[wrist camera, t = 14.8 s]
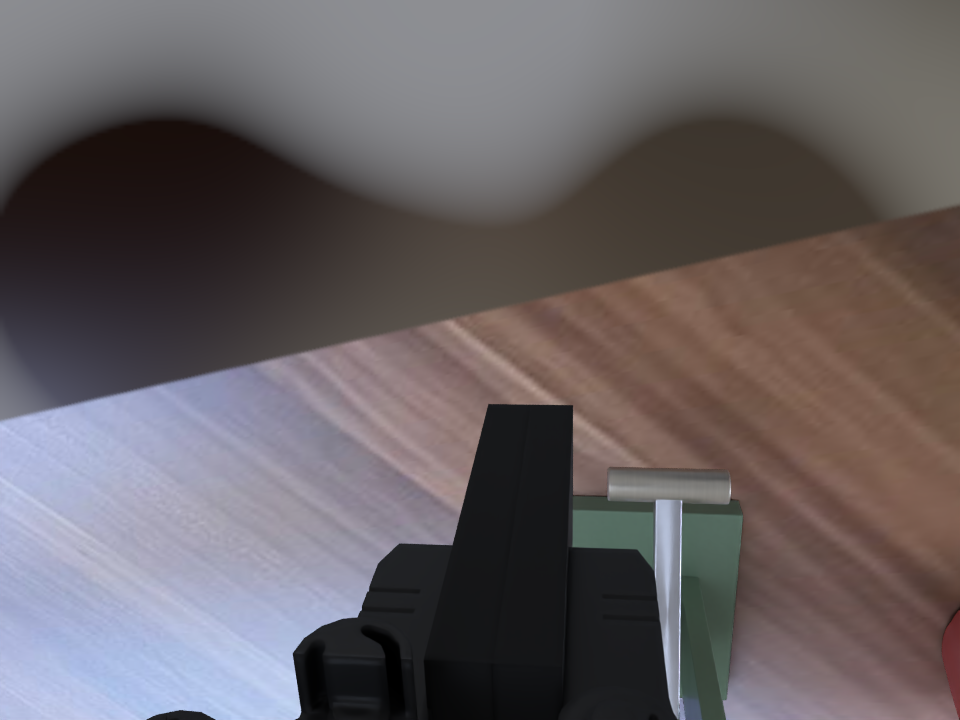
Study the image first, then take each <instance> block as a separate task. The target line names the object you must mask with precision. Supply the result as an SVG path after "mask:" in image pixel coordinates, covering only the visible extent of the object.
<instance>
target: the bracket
mask: <svg viewBox="0 0 960 720" xmlns="http://www.w3.org/2000/svg"><path fill="white" fill-rule="evenodd" d="M742 523H743V514H742V511H741V507H740V504H739V501H736V500H730V502H729V504H727V505H726V504H692V503H682V542H681V625H680V698H683V703H684V711H685V718H686V720H726V717H725V712H724V707H723V701H722V700H726V699H727V691H728V679H729V668H730V657H731V646H732V635H733V624H734V612H735V601H736V590H737V579H738V568H739V557H740V546H741V534H742ZM572 547H584V548H613V549H638V551H639V552H640V553H641V554H642V556H643V557H644V558H645V560H646V561H647V562H648V564H649V565H650V566H651V567H652V569H653V502H623V501H608V498H607V497H595V496H573V546H572Z"/></svg>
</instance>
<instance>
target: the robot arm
mask: <svg viewBox="0 0 960 720" xmlns="http://www.w3.org/2000/svg"><path fill="white" fill-rule="evenodd" d="M572 546H573V405H509V404H488V408H487V412H486V416H485V420H484V424H483V428H482V432H481V436H480V440H479V444H478V448H477V451H476V455H475V459H474V463H473V467H472V471H471V475H470V479H469V483H468V487H467V491H466V495H465V499H464V503H463V506H462V510H461V514H460V518H459V522H458V526H457V530H456V534H455V538H454V542H453V545H427V544H399V545H397V546H396V547H395V548H394V549H393V550H392V551H391V552H390V553H389V554H388V555H387V556H386V557H385V558H384V559H382V560H381V561H380V562H379V563H378V565H377V568H376V571H375V573H374V576H373V579H372V581H371V584H370V586H369V592H367V594H366V597H365V600H364V602H363V605H362V611H360V613H359V615H358V618H346V619H341V620H338V621H335V622H332V623H330V624H327V625H324V626H321V627H320V628H318V629H317V630H315V631H314V632H313V633H311V634H310V635H308V636H307V637H305V638H304V639H303V640H302V642H301V643H300V644H299V646H298V647H297V648H296V650H295V651H294V652H293V658H294V665H295V672H296V679H297V685H298V692H299V699H300V705H301V715H300V717H299V718H298V719H296V720H678V719H677V717H676V716H675V714H674V712H673V710H672V706H671V703H670V699H669V692H668V683H667V674H666V666H665V657H664V649H663V640H662V631H661V623H660V614H659V605H658V601H657V588H656V580H655V571H654V570H653V569H652V567H651V566H650V565H649V564H648V562H647V561H646V560H645V558H644V557H643V556H642V554H641V553H640V552H639V551H638V549H613V548H584V547H572ZM147 720H215V719H213V718H211V717H210V716H208V715H206V714H204V713H202V712H194V711H183V710H179V711H174V712H169V713H164V714H158V715H155V716H153V717H151V718H149V719H147Z"/></svg>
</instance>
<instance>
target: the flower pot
mask: <svg viewBox="0 0 960 720" xmlns="http://www.w3.org/2000/svg"><path fill="white" fill-rule="evenodd" d="M942 658H943V662H944V666H945V670H946V673H947V678H948V682H949V685H950V689H951V693H952V696H953V700H954V703H955V707H956V710H957V714H958V717H959V720H960V610H959V611H958V612H957V613H956V614H955V616H954V617H953V619H952V621H951V622H950V624H949V625H948V626H947V628H946V630H945V633H944V636H943V641H942Z"/></svg>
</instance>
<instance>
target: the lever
mask: <svg viewBox="0 0 960 720" xmlns="http://www.w3.org/2000/svg"><path fill="white" fill-rule="evenodd" d="M607 498H608V501H623V502H653V570H654V571H655V580H656V588H657V601H658V605H659V614H660V623H661V631H662V640H663V649H664V657H665V666H666V674H667V683H668V692H669V699H670V703H671V706H672V710H673V712H674V714H675V716H676V717H677V719H678V720H679V708H680V625H681V542H682V503H692V504H726V505H727V504H729V502H730V499H731V478H730V473H729V471H728V470H718V469H677V468H636V467H608V472H607Z"/></svg>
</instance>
